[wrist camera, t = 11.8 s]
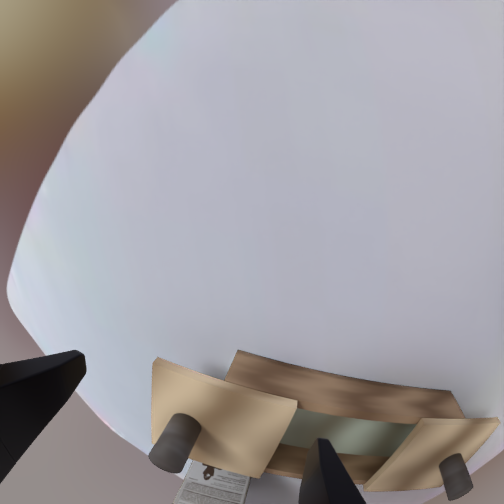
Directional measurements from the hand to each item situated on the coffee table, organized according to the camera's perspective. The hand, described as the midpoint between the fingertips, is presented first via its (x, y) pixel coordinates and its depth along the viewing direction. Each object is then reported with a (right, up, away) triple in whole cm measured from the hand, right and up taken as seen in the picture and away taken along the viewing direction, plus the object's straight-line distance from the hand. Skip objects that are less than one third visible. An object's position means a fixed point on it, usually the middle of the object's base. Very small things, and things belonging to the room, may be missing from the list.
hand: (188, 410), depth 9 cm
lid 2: (+18, -13, +8) cm, 24 cm away
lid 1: (-1, -8, +10) cm, 13 cm away
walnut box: (+10, -9, +13) cm, 19 cm away
